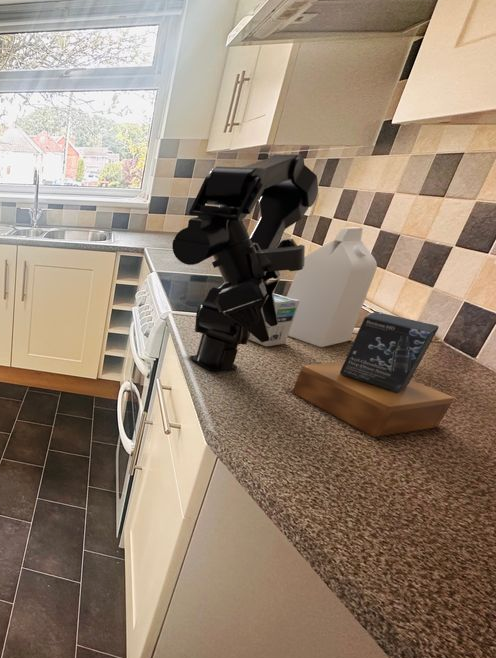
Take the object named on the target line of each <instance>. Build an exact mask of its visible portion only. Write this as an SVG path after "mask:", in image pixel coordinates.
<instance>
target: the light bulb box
mask: <svg viewBox="0 0 496 658" xmlns="http://www.w3.org/2000/svg"><path fill="white" fill-rule="evenodd" d="M273 295H274V302H275V308H276V315H277V321H278V324H277V325H275V326H270V325H268V324H267V323H266V325H267V329H268V334H269V338H270V339H269V341H266V342H261V341H260V340H258V339H257V338H256V337H255V336H253V335H252V334H251V333H250V337H249V339H248V341H251V342H254V343H256V344H259V345H261V346H263V347H272V346H278V345H285V344H286V342H287V338H288V337H289V336H288V333H289V330H290V327H291V325H292V322H293V319H294V316H295V313H296V310H297V308H298V305H299V302H300V300H296V299H292V298H288V297H286V296H284V295H281V294H277V293H274V292H273Z"/></svg>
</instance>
